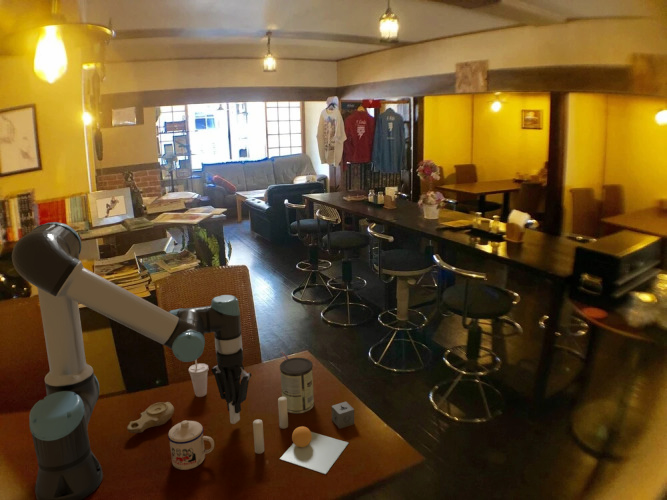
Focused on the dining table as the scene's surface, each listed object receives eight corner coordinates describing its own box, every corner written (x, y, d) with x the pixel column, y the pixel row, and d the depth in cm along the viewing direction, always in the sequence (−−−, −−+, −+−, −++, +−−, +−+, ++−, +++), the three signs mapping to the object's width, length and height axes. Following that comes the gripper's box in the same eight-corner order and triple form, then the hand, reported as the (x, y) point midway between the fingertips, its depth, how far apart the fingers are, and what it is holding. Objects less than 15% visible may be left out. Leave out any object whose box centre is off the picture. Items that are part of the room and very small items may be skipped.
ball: (301, 432, 136) (309, 450, 137) (310, 421, 141) (317, 438, 141) (285, 435, 139) (293, 452, 139) (294, 424, 144) (302, 441, 144)
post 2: (277, 427, 149) (276, 400, 147) (282, 422, 151) (281, 396, 149) (285, 429, 148) (283, 402, 146) (289, 424, 150) (288, 398, 148)
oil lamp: (126, 440, 145) (123, 425, 144) (146, 412, 159) (144, 398, 157) (162, 441, 144) (160, 425, 143) (179, 412, 158) (177, 398, 157)
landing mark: (279, 459, 135) (279, 458, 135) (305, 430, 147) (305, 430, 147) (325, 474, 129) (325, 473, 129) (348, 443, 141) (348, 442, 141)
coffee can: (285, 395, 166) (283, 356, 163) (316, 396, 165) (314, 357, 161) (278, 413, 156) (276, 372, 153) (311, 414, 155) (310, 373, 152)
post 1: (253, 452, 138) (250, 423, 136) (258, 446, 141) (256, 418, 138) (260, 454, 137) (258, 426, 135) (266, 449, 139) (264, 420, 137)
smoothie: (190, 390, 170) (186, 353, 167) (210, 387, 172) (206, 350, 168) (191, 400, 164) (187, 361, 161) (211, 397, 166) (207, 358, 163)
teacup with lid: (165, 470, 132) (160, 431, 129) (179, 448, 141) (174, 411, 138) (210, 472, 131) (206, 433, 128) (220, 449, 140) (217, 413, 137)
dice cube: (339, 429, 148) (339, 414, 147) (331, 420, 152) (331, 405, 151) (354, 424, 150) (354, 409, 149) (346, 415, 154) (346, 401, 153)
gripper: (255, 347, 144) (260, 419, 150) (219, 339, 149) (225, 409, 156) (239, 358, 137) (245, 433, 143) (202, 349, 143) (209, 422, 149)
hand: (235, 420), depth 150 cm, fingers closed
